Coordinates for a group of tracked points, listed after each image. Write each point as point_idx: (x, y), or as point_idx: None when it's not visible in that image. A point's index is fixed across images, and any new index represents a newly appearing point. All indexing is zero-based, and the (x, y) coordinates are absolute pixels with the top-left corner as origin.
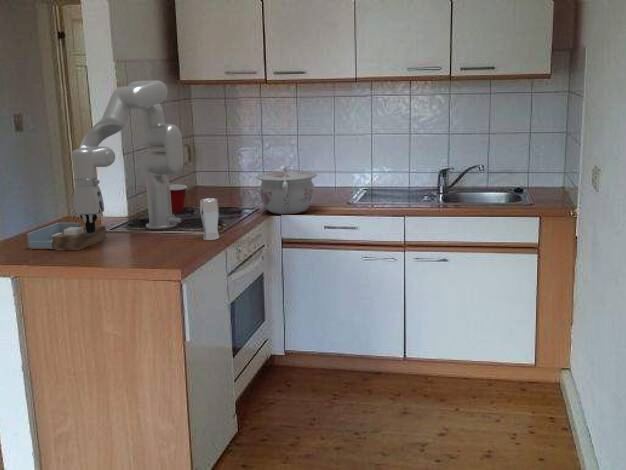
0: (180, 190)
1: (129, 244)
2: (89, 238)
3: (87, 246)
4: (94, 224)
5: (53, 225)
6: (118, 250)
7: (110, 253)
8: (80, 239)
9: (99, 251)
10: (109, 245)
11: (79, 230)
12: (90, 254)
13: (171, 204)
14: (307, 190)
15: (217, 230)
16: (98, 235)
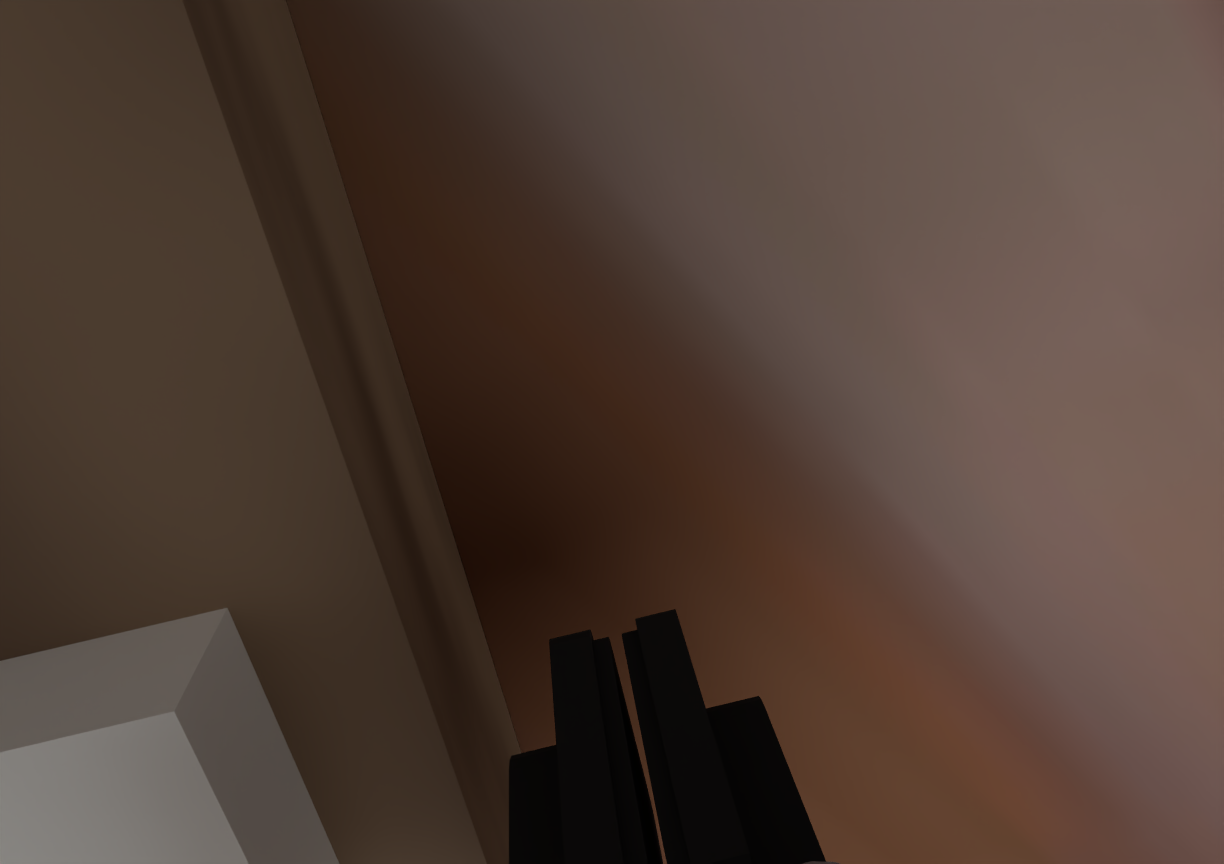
0: None
1: (1214, 21)
2: (395, 477)
3: (442, 508)
4: (810, 839)
5: None
6: (1220, 505)
7: (1182, 689)
8: (496, 824)
9: (923, 665)
10: (816, 256)
11: (270, 843)
12: (898, 833)
13: None
14: None
15: None
16: (250, 21)
